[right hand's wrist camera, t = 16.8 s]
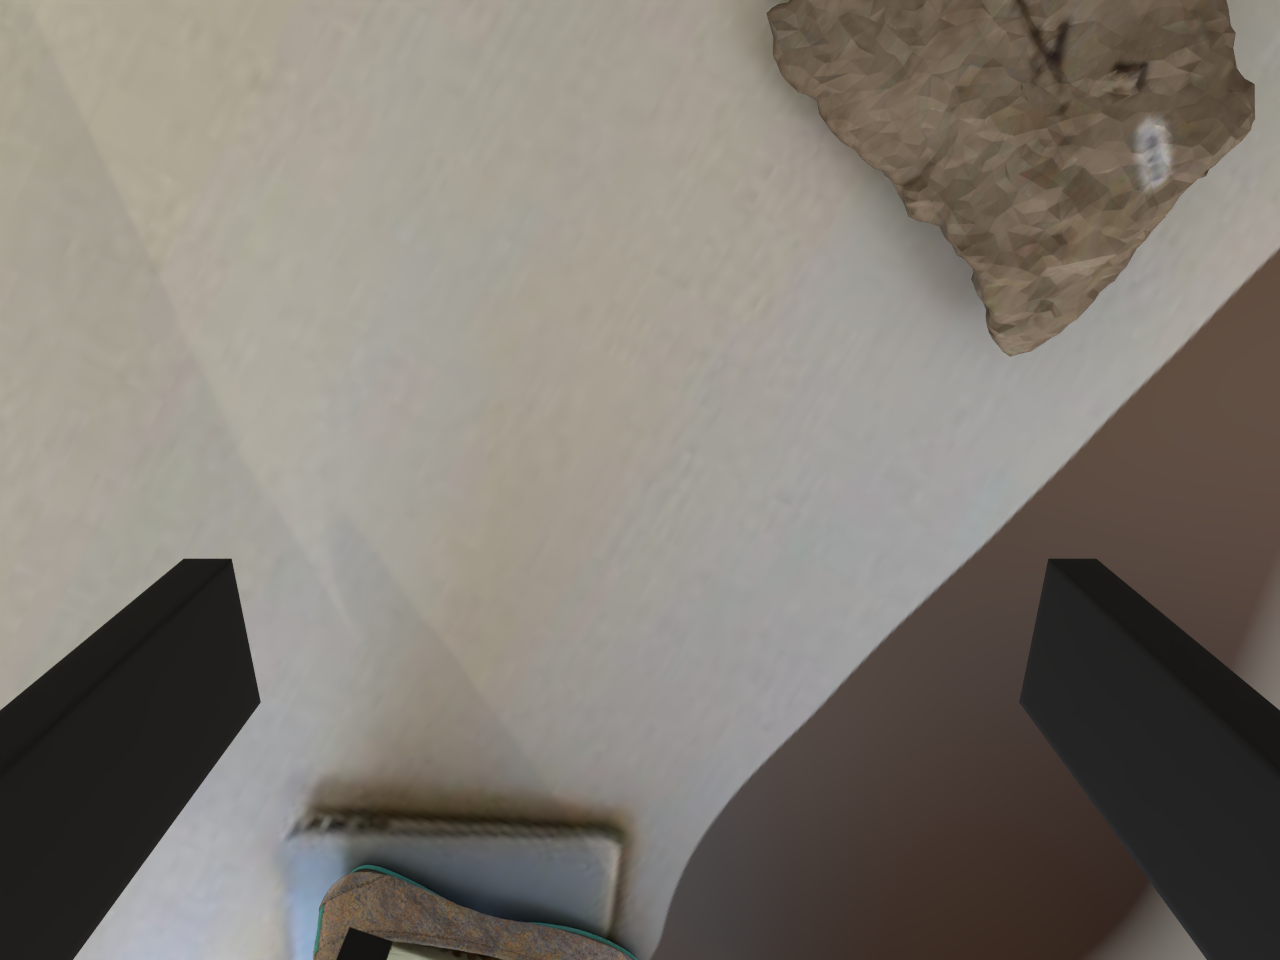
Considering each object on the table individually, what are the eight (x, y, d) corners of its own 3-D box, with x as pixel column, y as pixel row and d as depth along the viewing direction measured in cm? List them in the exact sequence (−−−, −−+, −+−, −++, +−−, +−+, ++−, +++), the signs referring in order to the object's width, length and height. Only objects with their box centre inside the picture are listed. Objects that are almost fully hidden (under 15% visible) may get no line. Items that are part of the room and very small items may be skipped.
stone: (1298, 153, 37) (1368, 154, 31) (1006, 353, 43) (1023, 382, 38) (1022, -230, 34) (1047, -299, 29) (760, 44, 41) (740, 28, 36)
